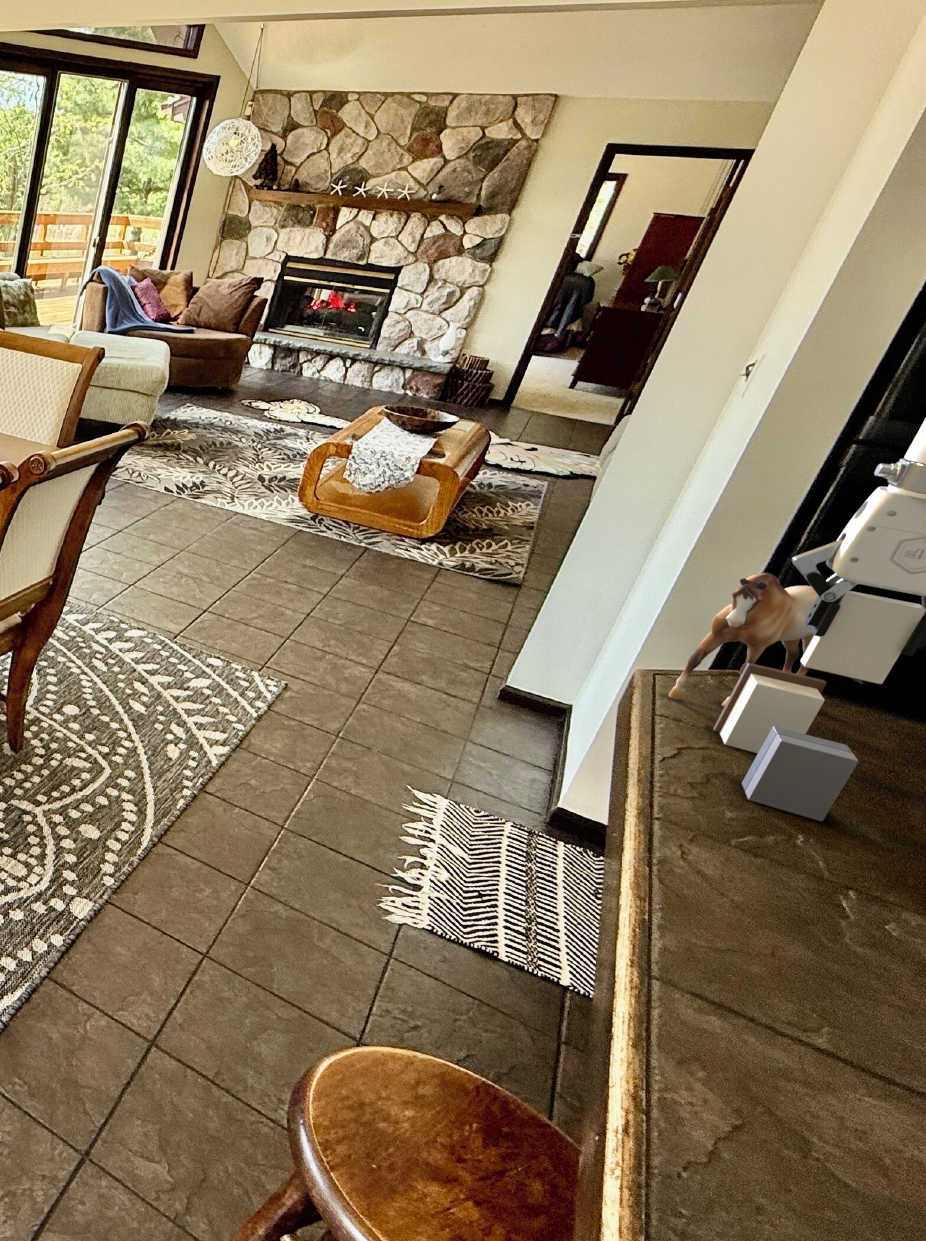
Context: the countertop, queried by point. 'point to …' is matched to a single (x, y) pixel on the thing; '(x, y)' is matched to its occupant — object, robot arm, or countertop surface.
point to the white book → (864, 637)
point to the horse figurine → (758, 624)
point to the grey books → (799, 773)
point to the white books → (768, 706)
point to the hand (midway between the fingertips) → (858, 640)
